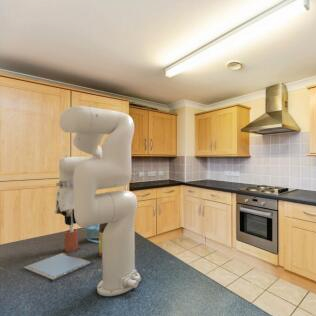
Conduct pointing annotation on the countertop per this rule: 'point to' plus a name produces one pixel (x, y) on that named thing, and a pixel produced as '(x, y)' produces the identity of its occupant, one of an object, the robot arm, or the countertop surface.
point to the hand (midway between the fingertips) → (70, 223)
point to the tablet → (57, 266)
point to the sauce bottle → (101, 229)
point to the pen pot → (71, 240)
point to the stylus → (71, 222)
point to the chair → (95, 229)
